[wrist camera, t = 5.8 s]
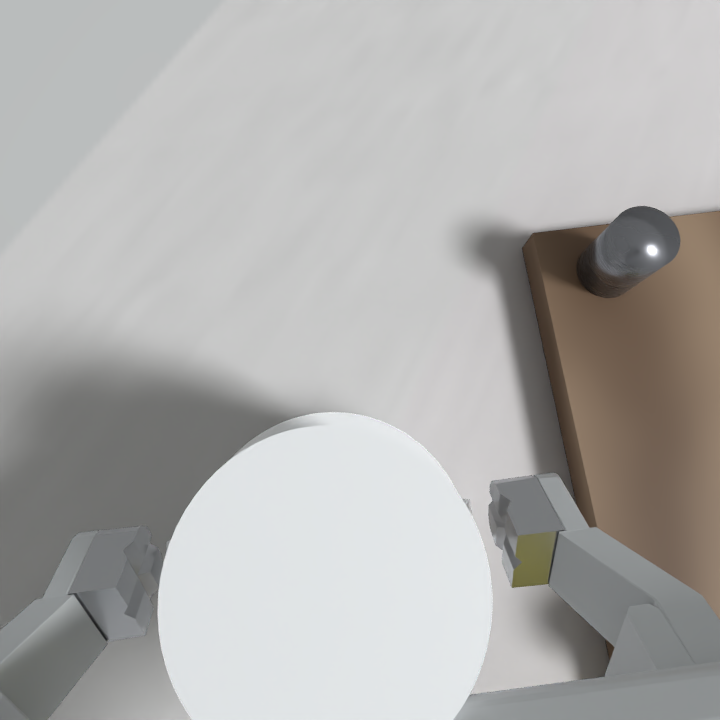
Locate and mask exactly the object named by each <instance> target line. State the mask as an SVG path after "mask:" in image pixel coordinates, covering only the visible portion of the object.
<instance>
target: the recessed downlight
mask: <svg viewBox="0 0 720 720" xmlns="http://www.w3.org/2000/svg"><path fill="white" fill-rule="evenodd" d="M492 608H493V606H492V583H491V574H490V568H489V563H488V558H487V554H486V551H485V547H484V544H483V541H482V538H481V535H480V533H479V530H478V528H477V525H476V523H475V521H474V519H473V517H472V510H471V503H470V500H468V499H462V498H461V496H460V495H459V494H458V492H457V490H456V488H455V486H454V484H453V483H452V481H451V480H450V478H449V476H448V475H447V473H446V472H445V470H444V469H443V468H442V466H441V465H440V464H439V462H438V461H437V460H436V459H435V458H434V457H433V456H432V455H431V454H430V453H429V451H428V450H426V449H425V448H424V447H423V446H422V445H421V444H420V443H419V442H417V441H416V440H415V439H413V438H412V437H410V436H409V435H408V434H406V433H404V432H403V431H401V430H399V429H398V428H396V427H394V426H392V425H390V424H387V423H385V422H383V421H380V420H377V419H374V418H371V417H367V416H363V415H359V414H352V413H344V412H323V413H315V414H308V415H304V416H300V417H296V418H292V419H290V420H287V421H284V422H281V423H279V424H277V425H275V426H273V427H271V428H269V429H267V430H265V431H264V432H262V433H260V434H259V435H257V436H256V437H254V438H253V439H252V440H250V441H249V442H247V443H246V444H245V445H244V446H243V447H242V448H241V449H239V450H238V451H237V452H236V453H235V454H234V455H233V456H232V457H231V458H230V459H229V461H228V462H226V463H225V464H224V465H223V466H222V467H221V468H220V469H218V470H217V471H216V472H215V473H214V474H213V475H212V476H211V477H210V478H209V479H208V480H207V482H206V483H205V484H204V485H203V486H202V487H201V489H200V490H199V491H198V492H197V494H196V495H195V496H194V498H193V499H192V501H191V502H190V504H189V505H188V507H187V508H186V510H185V511H184V513H183V515H182V517H181V519H180V521H179V523H178V525H177V526H176V529H175V531H174V533H173V536H172V538H171V540H170V541H167V542H166V556H165V559H164V563H163V567H162V572H161V577H160V584H159V592H158V630H159V637H160V644H161V650H162V654H163V658H164V662H165V666H166V669H167V672H168V675H169V677H170V680H171V683H172V685H173V687H174V689H175V692H176V694H177V696H178V698H179V700H180V702H181V703H182V705H183V707H184V708H185V710H186V712H187V713H188V715H189V717H190V718H191V719H192V720H453V719H454V718H455V717H456V715H457V714H458V712H459V711H460V710H461V708H462V706H463V705H464V703H465V701H466V700H467V698H468V696H469V695H470V693H471V690H472V688H473V686H474V684H475V682H476V680H477V678H478V675H479V672H480V670H481V667H482V664H483V661H484V658H485V654H486V650H487V646H488V642H489V636H490V630H491V622H492Z"/></svg>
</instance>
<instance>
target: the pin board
mask: <svg viewBox="0 0 720 720" xmlns="http://www.w3.org/2000/svg"><path fill="white" fill-rule="evenodd" d="M522 250H523V255H524V259H525V264H526V269H527V273H528V278H529V283H530V288H531V292H532V297H533V302H534V306H535V311H536V316H537V321H538V325H539V330H540V335H541V339H542V344H543V349H544V353H545V358H546V363H547V368H548V372H549V377H550V382H551V386H552V391H553V396H554V401H555V405H556V410H557V415H558V419H559V424H560V429H561V434H562V438H563V443H564V448H565V452H566V457H567V462H568V467H569V471H570V476H571V481H572V485H573V490H574V495H575V500H576V504H577V507H578V509H579V511H580V512H581V514H582V516H583V517H584V519H585V521H586V522H587V524H588V526H589V527H590V528H592V527H597V528H598V529H600V530H601V531H603V532H604V533H606V534H608V535H609V536H611V537H612V538H614V539H615V540H617V541H618V542H620V543H622V544H623V545H625V546H626V547H628V548H629V549H631V550H632V551H634V552H636V553H637V554H639V555H640V556H642V557H643V558H645V559H646V560H648V561H650V562H651V563H653V564H654V565H656V566H657V567H659V568H660V569H662V570H664V571H665V572H667V573H668V574H670V575H671V576H673V577H674V578H676V579H678V580H679V581H681V582H682V583H684V584H685V585H687V586H688V587H690V588H691V589H693V590H695V591H696V592H698V593H699V594H701V595H702V596H703V597H704V599H705V600H706V601H707V603H708V604H709V606H710V607H711V608H712V610H713V611H714V613H715V614H716V615H717V617H718V618H719V620H720V211H716V212H707V213H699V214H690V215H682V216H673V217H669V216H667V215H666V214H665V213H663V212H662V211H660V210H658V209H655V208H652V207H647V206H637V207H632V208H629V209H627V210H625V211H624V212H622V213H621V214H620V215H619V216H618V217H617V218H616V219H615V220H614V221H613V222H612V223H611V224H606V225H598V226H589V227H581V228H572V229H564V230H556V231H547V232H539V233H533V234H532V235H531V236H530V238H529V239H528V241H527V242H526V244H525V245H524V246H523V248H522ZM605 641H606V646H607V650H608V655H609V660H610V659H611V656H612V653H613V651H614V648H615V647H614V646H613V645H612V644H611V643H610V642H609V641H607V640H606V639H605Z"/></svg>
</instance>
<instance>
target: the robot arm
mask: <svg viewBox="0 0 720 720" xmlns="http://www.w3.org/2000/svg"><path fill="white" fill-rule="evenodd" d="M490 494H491V497H492V500H493V501H492V502H491V503H490V504H489V513H488V516H489V523H490V529H491V533H492V536H493V539H494V542H495V545H496V546H498V547H499V548H500V549H501V550H503V554H502V564H503V566H504V569H505V571H506V574H507V577H508V579H509V582H510V585H511V587H512V588H514V587H524V586H534V585H543V584H549V587H550V588H552V589H553V590H554V591H555V592H556V593H557V594H558V595H559V596H560V597H561V598H562V599H563V600H564V601H566V602H567V603H568V604H569V605H570V606H571V607H572V608H573V609H574V610H575V611H576V612H577V613H578V614H579V615H581V616H582V617H583V618H584V619H585V620H586V621H587V622H588V623H589V624H590V625H591V626H592V627H593V628H595V629H596V630H597V631H598V632H599V633H600V634H601V635H602V636H603V637H604V638H605V639H606V640H607V641H609V642H610V643H611V644H612V645H613V646H614V647H615V648H614V651H613V653H612V656H611V659H610V662H609V665H608V668H607V670H606V673H605V677H598V678H591V679H584V680H576V681H569V682H561V683H554V684H546V685H539V686H532V687H524V688H517V689H509V690H502V691H495V692H487V693H480V694H472V695H469V696H468V698H467V700H466V701H465V703H464V705H463V706H462V708H461V710H460V711H459V712H458V714H457V715H456V717H455V718H454V719H453V720H720V620H719V618H718V617H717V615H716V614H715V613H714V611H713V610H712V608H711V607H710V606H709V604H708V603H707V601H706V600H705V599H704V597H703V596H702V595H701V594H699V593H698V592H696V591H695V590H693V589H691V588H690V587H688V586H687V585H685V584H684V583H682V582H681V581H679V580H678V579H676V578H674V577H673V576H671V575H670V574H668V573H667V572H665V571H664V570H662V569H660V568H659V567H657V566H656V565H654V564H653V563H651V562H650V561H648V560H646V559H645V558H643V557H642V556H640V555H639V554H637V553H636V552H634V551H632V550H631V549H629V548H628V547H626V546H625V545H623V544H622V543H620V542H618V541H617V540H615V539H614V538H612V537H611V536H609V535H608V534H606V533H604V532H603V531H601V530H600V529H598V528H597V527H592V528H590V527H589V526H588V524H587V522H586V521H585V519H584V517H583V516H582V514H581V512H580V511H579V509H578V507H577V505H576V504H575V502H574V500H573V499H572V497H571V495H570V494H569V492H568V490H567V488H566V487H565V485H564V483H563V482H562V480H561V478H560V477H559V475H558V474H556V473H555V472H554V473H547V474H539V475H534V476H532V475H530V476H522V477H515V478H508V479H501V480H494V481H492V482H491V484H490ZM151 536H152V534H151V533H150V531H149V529H148V527H147V526H135V527H125V528H115V529H105V530H98V531H89V532H80V533H78V534H77V535H76V536H74V537H73V539H72V540H71V542H70V544H69V546H68V548H67V550H66V552H65V554H64V556H63V558H62V560H61V562H60V564H59V566H58V568H57V570H56V572H55V574H54V576H53V578H52V580H51V582H50V584H49V586H48V588H47V590H46V592H45V594H44V596H43V598H41V599H35V600H34V601H33V602H32V603H31V604H30V605H28V606H27V607H26V608H25V609H24V610H23V611H22V612H20V613H19V614H18V615H17V616H16V617H15V618H14V619H13V620H11V621H10V622H9V623H8V624H7V625H6V626H5V627H3V628H2V629H1V630H0V720H47V719H48V718H49V717H50V716H51V714H52V713H53V712H54V711H55V709H56V708H57V707H58V706H59V704H60V703H61V702H62V701H63V699H64V698H65V697H66V696H67V694H68V693H69V692H70V691H71V689H72V688H73V687H74V686H75V684H76V683H77V682H78V681H79V679H80V678H81V677H82V676H83V674H84V673H85V672H86V671H87V669H88V668H89V667H90V666H91V664H92V663H93V662H94V660H95V659H96V658H97V657H98V655H99V654H100V653H101V652H102V650H103V649H104V648H105V647H106V645H107V644H108V643H107V642H108V641H115V640H121V639H127V638H134V637H140V636H145V635H146V632H147V629H148V625H149V622H150V618H151V615H152V612H153V608H154V606H153V604H152V602H151V600H150V598H151V597H152V596H153V595H154V594H155V592H156V591H157V590H158V589H159V584H160V577H161V572H162V567H163V561H162V556H161V553H160V551H159V548H158V547H156V546H155V545H153V544H151V543H149V542H150V539H151Z"/></svg>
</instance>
